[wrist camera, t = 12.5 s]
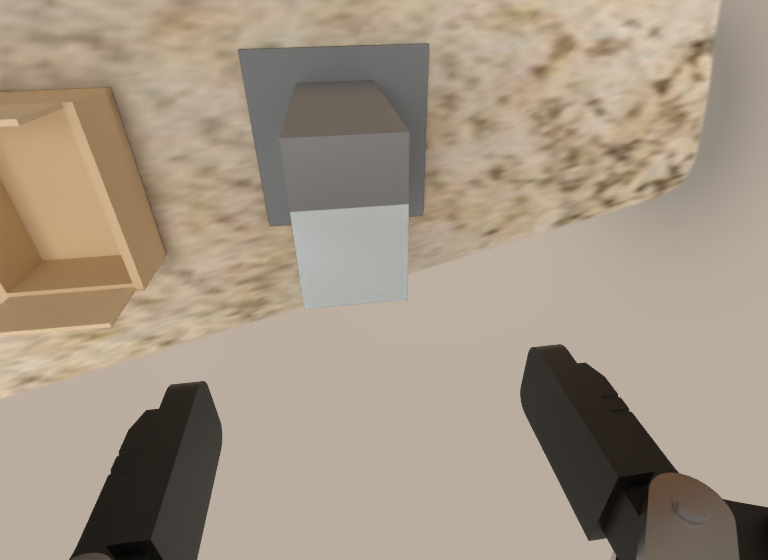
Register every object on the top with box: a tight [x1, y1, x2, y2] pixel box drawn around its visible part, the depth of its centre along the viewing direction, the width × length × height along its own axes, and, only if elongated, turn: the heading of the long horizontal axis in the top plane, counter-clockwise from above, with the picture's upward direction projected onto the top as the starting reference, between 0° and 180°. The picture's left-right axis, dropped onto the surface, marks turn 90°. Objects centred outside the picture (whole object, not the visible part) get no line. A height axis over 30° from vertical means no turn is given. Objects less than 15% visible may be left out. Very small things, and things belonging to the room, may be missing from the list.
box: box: [279, 80, 410, 309], centre depth 25 cm, size 8×5×14 cm, turn 1°
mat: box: [238, 43, 429, 226], centre depth 31 cm, size 12×12×1 cm
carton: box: [0, 87, 166, 337], centre depth 26 cm, size 12×9×9 cm
